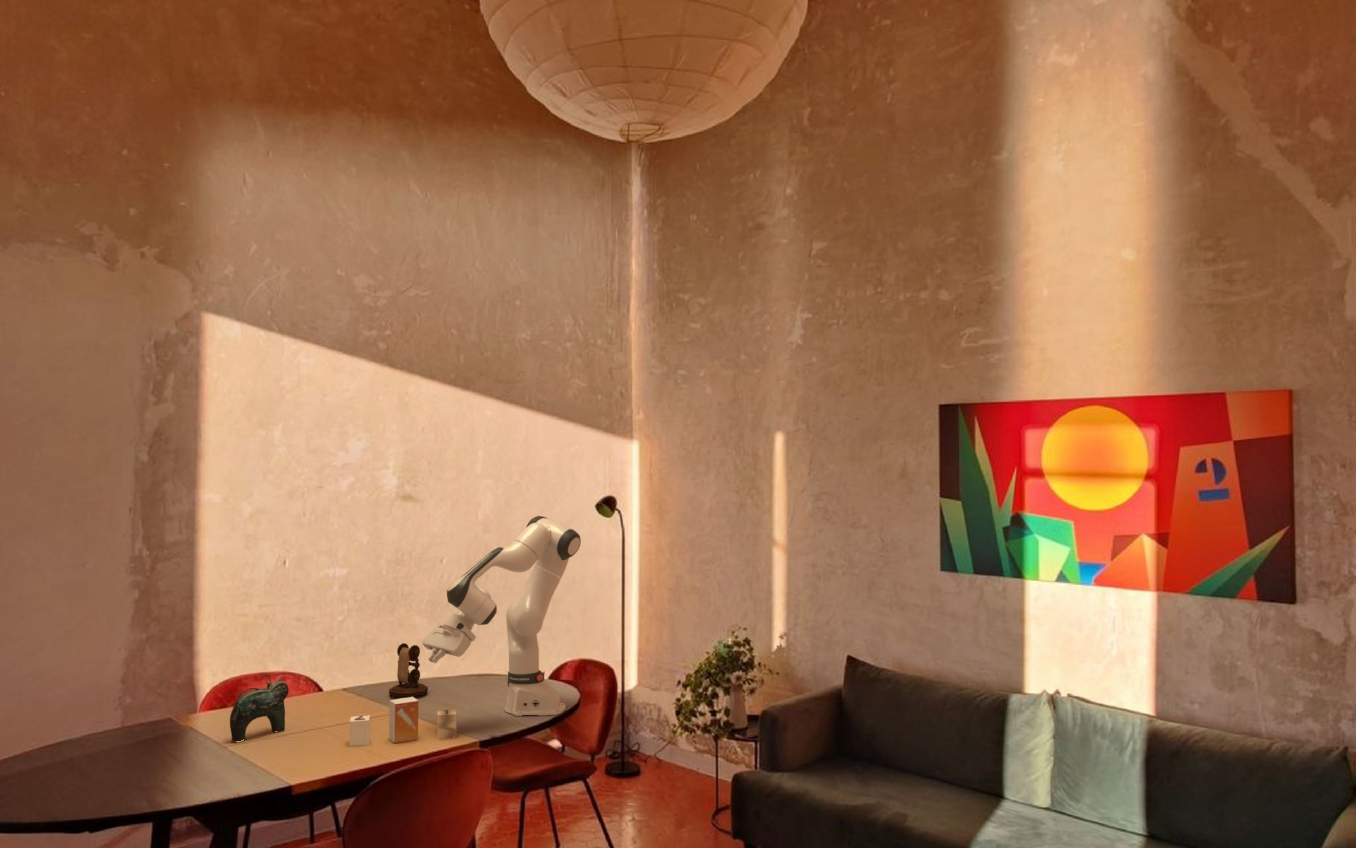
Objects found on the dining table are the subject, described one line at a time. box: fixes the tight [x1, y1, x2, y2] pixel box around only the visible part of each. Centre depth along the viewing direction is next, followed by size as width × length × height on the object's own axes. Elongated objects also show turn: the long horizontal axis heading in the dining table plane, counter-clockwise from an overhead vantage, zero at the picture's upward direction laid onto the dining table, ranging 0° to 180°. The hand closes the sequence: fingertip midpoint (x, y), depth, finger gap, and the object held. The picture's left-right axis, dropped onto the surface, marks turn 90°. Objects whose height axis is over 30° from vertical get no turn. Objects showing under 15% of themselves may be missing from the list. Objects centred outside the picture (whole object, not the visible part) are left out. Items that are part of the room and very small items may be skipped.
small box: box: [388, 696, 419, 744], centre depth 321 cm, size 8×6×13 cm
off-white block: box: [349, 714, 371, 747], centre depth 318 cm, size 6×6×8 cm
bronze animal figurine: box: [229, 674, 289, 741], centre depth 326 cm, size 20×6×20 cm, turn 145°
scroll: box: [388, 642, 429, 698], centre depth 379 cm, size 15×15×20 cm
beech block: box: [436, 708, 457, 740], centre depth 325 cm, size 6×6×8 cm
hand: (431, 661), depth 328 cm, fingers closed
